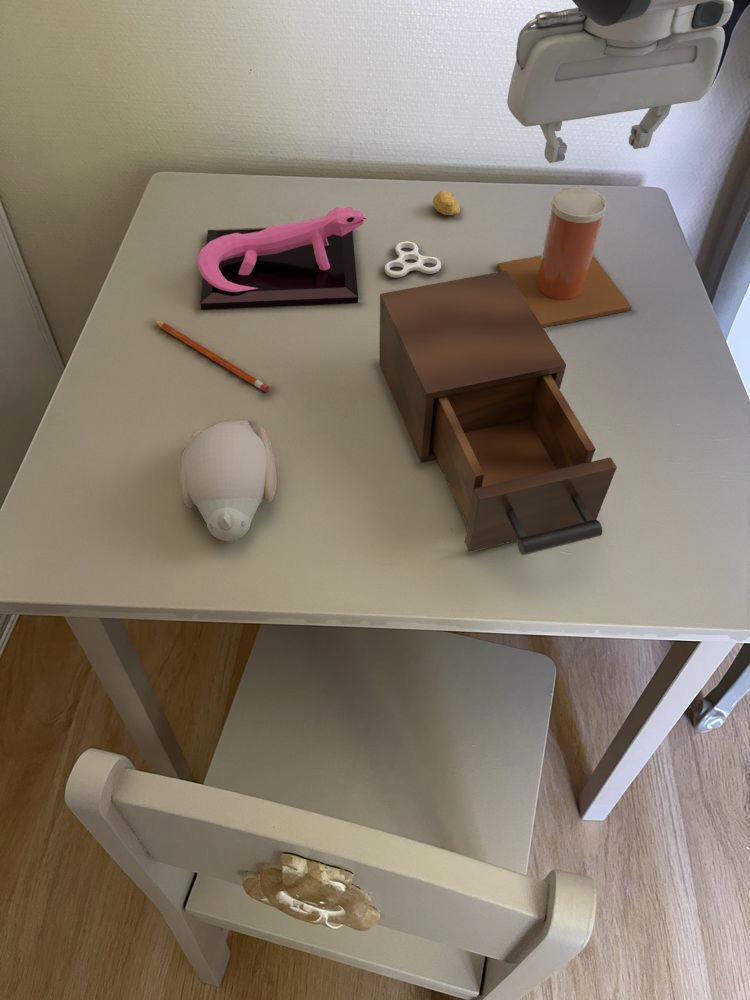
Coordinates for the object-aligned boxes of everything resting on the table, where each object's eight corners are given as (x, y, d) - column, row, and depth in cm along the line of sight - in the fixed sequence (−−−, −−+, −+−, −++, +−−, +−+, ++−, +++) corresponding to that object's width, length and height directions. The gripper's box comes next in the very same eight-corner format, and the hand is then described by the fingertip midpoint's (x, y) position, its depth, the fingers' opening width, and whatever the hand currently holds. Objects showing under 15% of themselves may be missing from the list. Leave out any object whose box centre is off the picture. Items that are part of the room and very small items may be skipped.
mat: (585, 251, 98) (586, 247, 97) (630, 310, 91) (631, 306, 90) (496, 267, 95) (497, 263, 95) (535, 329, 89) (536, 325, 88)
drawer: (617, 558, 69) (641, 505, 62) (486, 592, 67) (497, 541, 60) (537, 417, 79) (551, 360, 73) (421, 443, 77) (425, 386, 71)
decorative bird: (187, 560, 70) (169, 510, 64) (186, 429, 79) (171, 375, 73) (285, 548, 70) (277, 498, 64) (272, 420, 80) (264, 366, 74)
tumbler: (571, 266, 95) (592, 182, 86) (592, 295, 91) (616, 211, 82) (527, 274, 94) (543, 190, 85) (547, 304, 90) (565, 220, 81)
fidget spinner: (387, 280, 94) (387, 274, 93) (377, 248, 98) (377, 243, 97) (443, 273, 94) (443, 268, 94) (431, 242, 98) (431, 237, 98)
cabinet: (548, 434, 79) (566, 364, 71) (420, 463, 76) (426, 393, 69) (495, 341, 87) (506, 270, 80) (379, 364, 85) (379, 293, 77)
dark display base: (370, 302, 91) (370, 249, 85) (199, 309, 90) (187, 256, 85) (363, 230, 100) (362, 177, 94) (207, 236, 99) (197, 182, 93)
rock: (455, 222, 101) (457, 202, 99) (427, 214, 102) (428, 194, 100) (465, 209, 103) (467, 189, 101) (437, 201, 104) (439, 181, 102)
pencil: (264, 393, 82) (264, 389, 81) (151, 323, 89) (150, 319, 88) (270, 389, 82) (269, 384, 82) (156, 320, 89) (155, 315, 89)
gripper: (536, 30, 65) (513, 184, 76) (751, 2, 68) (699, 153, 79) (507, 1, 69) (490, 152, 80) (713, -25, 72) (669, 123, 83)
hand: (596, 152), depth 79 cm, fingers open, 8 cm apart
